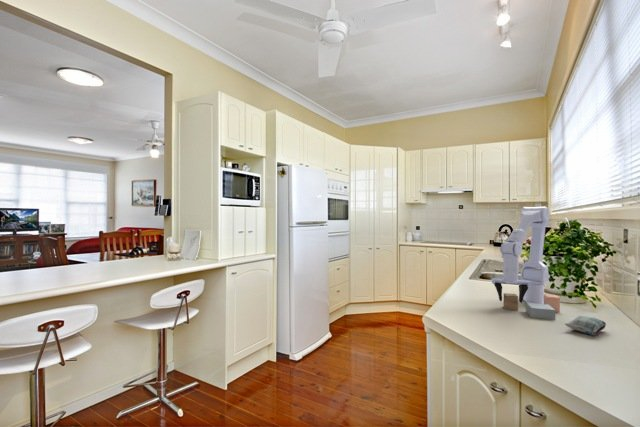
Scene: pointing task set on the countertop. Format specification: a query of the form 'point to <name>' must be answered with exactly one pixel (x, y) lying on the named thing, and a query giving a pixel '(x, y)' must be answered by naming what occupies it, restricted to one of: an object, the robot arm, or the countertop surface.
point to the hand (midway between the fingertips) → (510, 301)
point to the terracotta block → (552, 301)
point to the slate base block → (540, 310)
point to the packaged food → (587, 325)
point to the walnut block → (510, 301)
